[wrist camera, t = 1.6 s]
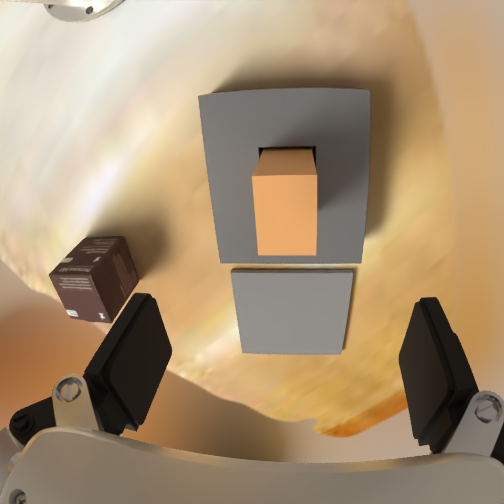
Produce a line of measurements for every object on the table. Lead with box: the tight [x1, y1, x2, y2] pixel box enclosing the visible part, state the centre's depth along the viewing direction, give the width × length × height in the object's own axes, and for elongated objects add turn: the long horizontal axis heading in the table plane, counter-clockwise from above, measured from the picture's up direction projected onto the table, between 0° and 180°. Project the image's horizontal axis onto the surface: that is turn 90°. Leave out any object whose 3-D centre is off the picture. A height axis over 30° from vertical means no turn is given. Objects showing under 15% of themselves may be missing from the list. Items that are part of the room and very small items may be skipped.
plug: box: [252, 146, 317, 255], centre depth 22 cm, size 5×4×9 cm
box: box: [49, 236, 139, 323], centre depth 30 cm, size 6×6×7 cm
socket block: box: [198, 87, 370, 264], centre depth 24 cm, size 14×12×4 cm
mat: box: [231, 269, 353, 355], centre depth 34 cm, size 12×12×1 cm
